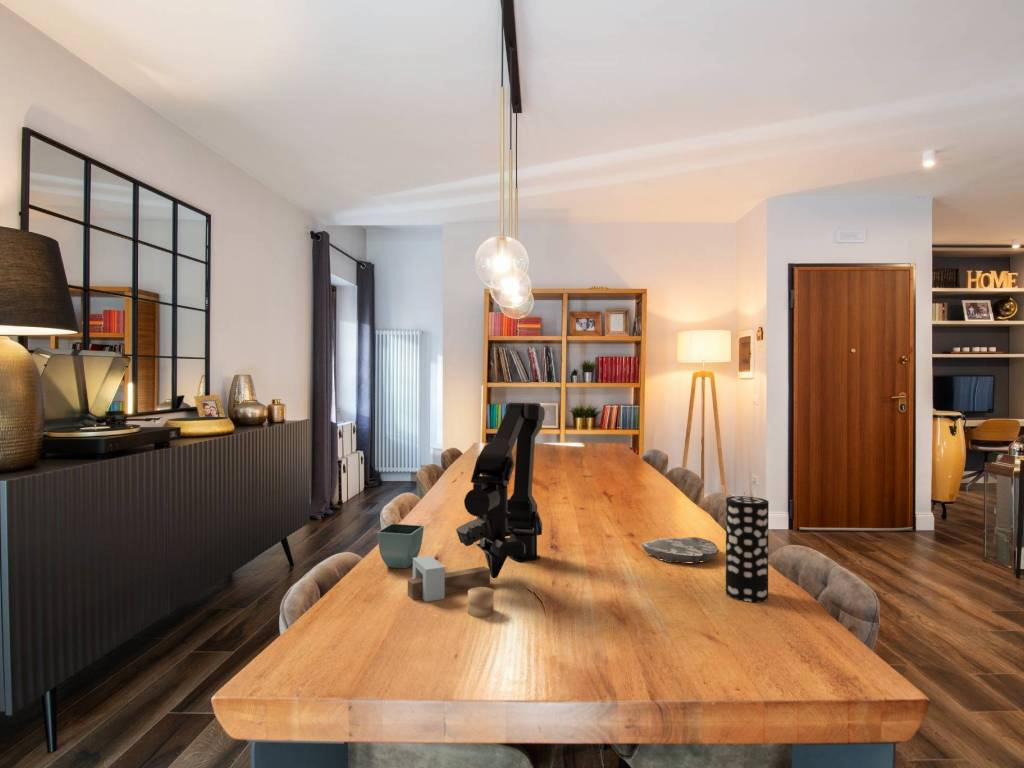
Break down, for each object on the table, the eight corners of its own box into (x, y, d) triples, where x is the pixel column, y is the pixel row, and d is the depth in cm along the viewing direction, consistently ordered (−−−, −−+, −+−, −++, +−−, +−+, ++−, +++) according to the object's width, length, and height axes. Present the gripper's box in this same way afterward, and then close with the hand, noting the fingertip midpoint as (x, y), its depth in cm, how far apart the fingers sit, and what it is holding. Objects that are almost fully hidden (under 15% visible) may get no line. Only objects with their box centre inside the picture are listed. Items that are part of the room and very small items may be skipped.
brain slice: (675, 571, 138) (676, 559, 138) (633, 552, 153) (633, 541, 153) (737, 562, 146) (737, 550, 146) (691, 544, 161) (691, 534, 161)
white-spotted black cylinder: (766, 590, 124) (766, 497, 124) (770, 604, 116) (770, 505, 116) (725, 586, 127) (725, 495, 127) (726, 599, 119) (726, 502, 119)
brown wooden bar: (484, 582, 130) (484, 566, 130) (490, 586, 127) (490, 569, 127) (407, 596, 120) (407, 579, 120) (412, 601, 118) (412, 583, 118)
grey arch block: (430, 585, 127) (430, 555, 127) (444, 598, 119) (444, 567, 119) (412, 587, 125) (412, 557, 125) (425, 601, 117) (425, 569, 117)
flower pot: (411, 572, 135) (411, 533, 135) (376, 569, 137) (376, 531, 137) (424, 561, 144) (424, 525, 144) (391, 559, 146) (391, 523, 146)
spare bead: (487, 605, 115) (487, 585, 115) (497, 614, 111) (498, 593, 111) (463, 609, 113) (464, 589, 113) (473, 619, 109) (474, 597, 109)
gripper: (445, 502, 133) (445, 570, 133) (478, 519, 117) (477, 597, 117) (489, 499, 138) (489, 564, 138) (526, 514, 122) (526, 588, 122)
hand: (494, 577), depth 128 cm, fingers closed
